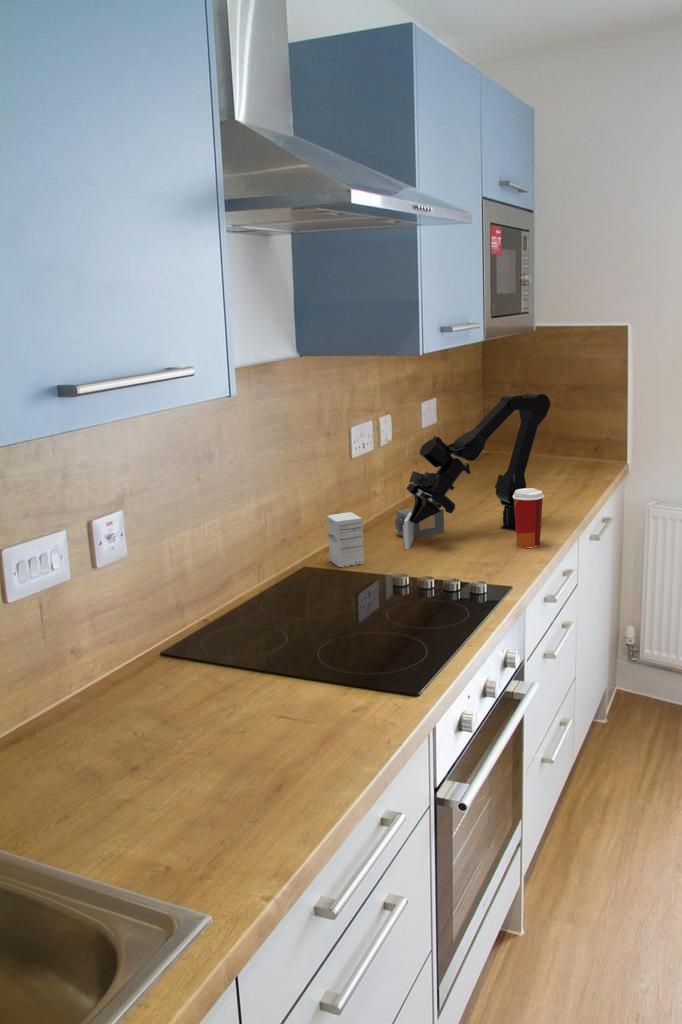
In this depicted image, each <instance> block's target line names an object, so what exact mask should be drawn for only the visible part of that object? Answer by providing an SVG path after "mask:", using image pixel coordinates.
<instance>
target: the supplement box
mask: <svg viewBox="0 0 682 1024" xmlns="http://www.w3.org/2000/svg"><path fill="white" fill-rule="evenodd" d="M326 519H327V537H328V539H327V540H328V554H329V555H328V557H329V558H328V559H329V562H331V563H333V564H334V565H336V567H338V568H339V567H342V568H345V567H344V566H348V567H351V566H350V565H354V566H358V565H357V564H360V565H364V564H365V554H364V552H365V549H364V529H363V528H364V527H363V518H362V517H361V516H360V515H359V516H358V515H357V514H356V513H354V512H351V511H350V512H349V511H348V512H342V513H336V514H330V515H326Z"/></svg>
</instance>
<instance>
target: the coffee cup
mask: <svg viewBox="0 0 682 1024" xmlns="http://www.w3.org/2000/svg"><path fill="white" fill-rule="evenodd" d="M544 497H545V495H544V494H543V491H542V490H540V489H537V488H532V487H531V488H527V487H526V488H525V489H518V490H515V493H514V495H513V498H514V509H515V524H516V530H515V534H516V535H515V536H516V545H517V547H518V546H519V547H518V548H521V547H535V546H538V545H539V544H540V543H541V530H542V515H543V514H542V512H543V498H544ZM539 546H540V545H539Z"/></svg>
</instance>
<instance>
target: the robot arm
mask: <svg viewBox="0 0 682 1024" xmlns="http://www.w3.org/2000/svg"><path fill="white" fill-rule="evenodd" d="M550 408H551V400H550V398H549V396H547V395H546V394H545V393H540V392H539V393H538V392H530V391H529V392H526V393H525V394H523V395H509V394H505V395H504V396H502V397H501V398H500V400H499V401H498V403H496V405H495V406H494V407H493V408H491V410H490V411H489V412H488V413H487V414H486V415H485V417H483V419H482V420H481V421H480V422H479V423H478V424H477V425H476V426H474V428H473V429H471V430H470V431H467V432H465V433H463V434H462V435H461V436H459V437H458V438H457V439H455V440H454V442H453V443H449V444H447V443H445V442H444V441H443V439H441V438H440V436H436V435H434V436H433V438H431V439H429V440H428V441H426V442H425V443H423V444H422V446H421V447H420V450H419V455H420V456H421V457H423V458H424V459H425V461H427V462H428V463H429V464H430V465H431V466H432V467H433V468H438V470H437V471H436V472H435V473H434V472H432V473H431V472H428V471H426V472H425V473H421V472H418V471H414V470H412V472H411V475H410V479H409V484H408V485H407V486H406V488H405V489H406V491H408V492H409V493H410V494H411V495H412V496H413V497H414V505H413V507H412V508H413V511H412V514H411V517H410V522H413V523H414V524H417V523H419V522H420V521H422V520H424V519H426V518H428V517H430V516H432V515H434V514H436V513H438V512H441V510H440V508H442V507H443V508H442V509H444V511H445V512H446V513H447V514H448V513H449V514H451V515H452V513H453V512H454V511H455V510H456V503H454V501H453V500H451V499H450V498H449V497H448V496H447V494H448V492H449V490H450V491H453V490H454V489H455V487H454V486H453V485H454V484H455V483H456V481H457V480H458V479H459V477H460V475H462V473H464V474H467V475H471V469H470V463H465V462H462V461H463V460H465V461H468V462H472V461H476V460H477V459H478V458H479V456H481V454H482V452H483V451H484V449H485V445H486V443H487V441H488V440H489V438H490V437H491V436H492V435H493V434H494V433H495V432H496V431H497V430H498V428H500V426H502V424H503V423H504V422H505V421H506V420H507V419H508V418H509V417H510V416H511V415H512V414H513V413H514V411H518V413H519V417H520V424H519V428H518V432H517V435H516V440H515V441H514V442H515V443H514V446H513V450H512V454H511V456H510V457H511V458H510V461H509V463H508V464H509V465H508V468H507V470H506V471H505V473H504V474H498V476H497V482H496V484H495V486H494V489H495V496H496V498H497V499H498V500H499V501H500V504H501V505H502V506H503V510H502V525H501V527H500V528H501V529H507V530H513V531H514V530H515V531H516V524H515V509H514V498H513V495H514V493H515V490H518V489H525V488H527V482H526V481H527V480H526V477H525V473H526V470H527V467H528V463H529V459H530V456H531V453H532V452H531V451H532V448H533V445H534V442H535V437H536V434H537V431H538V427H539V425H541V423H542V422H543V421H544V420H545V419H546V417H547V414H548V413H549V411H550ZM453 456H455V458H454V457H453Z"/></svg>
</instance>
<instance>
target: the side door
mask: <svg viewBox="0 0 682 1024" xmlns="http://www.w3.org/2000/svg"><path fill="white" fill-rule="evenodd" d="M411 514H412V511H409V513H408V515H407V517H406V518H405V520H404V525H403V536H402V541H403V542H402V544H404V550H410V548H411V546H412V543H414V542H413V541H414V540H415V538H416V537H414V523H413V522H410V517H411Z"/></svg>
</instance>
